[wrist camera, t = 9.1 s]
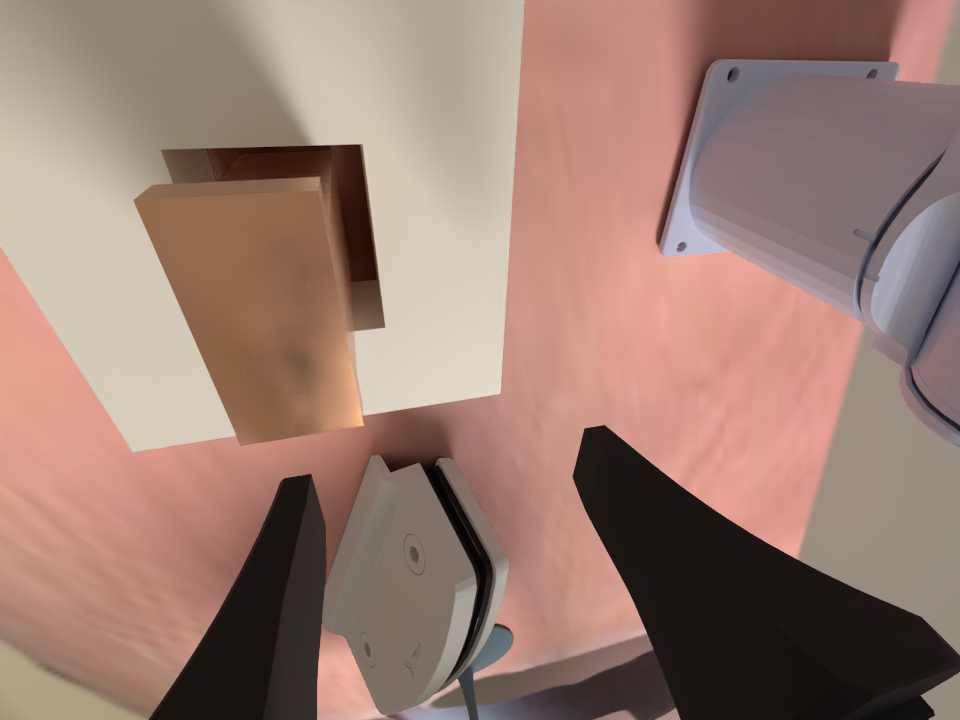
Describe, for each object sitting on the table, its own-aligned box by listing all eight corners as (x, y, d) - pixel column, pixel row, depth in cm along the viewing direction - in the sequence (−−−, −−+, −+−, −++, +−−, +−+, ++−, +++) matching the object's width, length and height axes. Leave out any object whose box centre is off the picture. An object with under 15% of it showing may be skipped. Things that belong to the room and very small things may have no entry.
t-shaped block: (326, 118, 15) (318, 190, 8) (353, 279, 19) (364, 425, 12) (231, 121, 14) (133, 199, 7) (277, 286, 18) (241, 445, 11)
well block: (484, -22, 14) (526, -39, 11) (477, 343, 22) (500, 393, 19) (-59, -53, 11) (-217, -88, 8) (165, 384, 19) (133, 452, 16)
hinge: (372, 450, 25) (466, 618, 19) (441, 437, 28) (540, 577, 22) (316, 610, 33) (370, 764, 27) (375, 586, 36) (434, 719, 30)
